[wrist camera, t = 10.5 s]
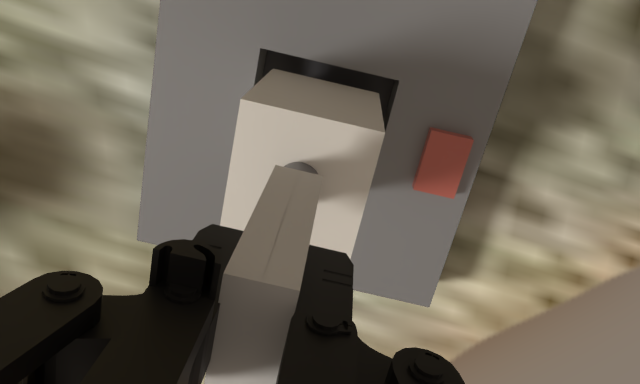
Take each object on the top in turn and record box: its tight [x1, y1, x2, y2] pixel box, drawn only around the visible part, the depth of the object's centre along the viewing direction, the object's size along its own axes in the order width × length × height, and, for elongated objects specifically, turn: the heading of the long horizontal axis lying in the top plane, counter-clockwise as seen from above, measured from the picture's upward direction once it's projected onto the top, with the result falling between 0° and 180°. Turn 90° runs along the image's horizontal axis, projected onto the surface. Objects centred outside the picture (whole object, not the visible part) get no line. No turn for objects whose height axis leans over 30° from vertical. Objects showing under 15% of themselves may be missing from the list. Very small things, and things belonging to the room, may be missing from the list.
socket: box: [137, 0, 538, 307], centre depth 26 cm, size 16×16×3 cm
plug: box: [220, 69, 385, 259], centre depth 22 cm, size 5×5×11 cm
